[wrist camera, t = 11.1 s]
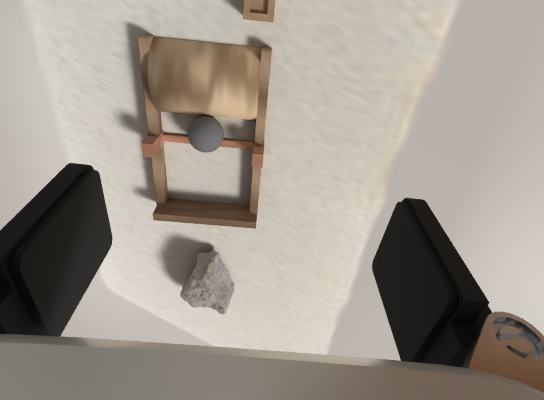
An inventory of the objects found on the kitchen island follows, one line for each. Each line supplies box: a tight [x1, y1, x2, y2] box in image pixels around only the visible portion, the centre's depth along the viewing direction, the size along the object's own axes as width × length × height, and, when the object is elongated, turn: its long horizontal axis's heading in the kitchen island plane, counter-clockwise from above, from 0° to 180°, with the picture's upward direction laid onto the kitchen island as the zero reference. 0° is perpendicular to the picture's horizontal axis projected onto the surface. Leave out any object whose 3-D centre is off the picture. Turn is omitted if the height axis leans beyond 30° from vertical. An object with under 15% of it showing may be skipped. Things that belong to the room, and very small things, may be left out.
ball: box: [188, 116, 224, 152], centre depth 38 cm, size 4×4×4 cm
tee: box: [243, 0, 275, 22], centre depth 32 cm, size 3×3×2 cm
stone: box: [180, 251, 234, 314], centre depth 50 cm, size 8×10×6 cm
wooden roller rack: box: [138, 34, 272, 228], centre depth 41 cm, size 21×13×9 cm, turn 174°
